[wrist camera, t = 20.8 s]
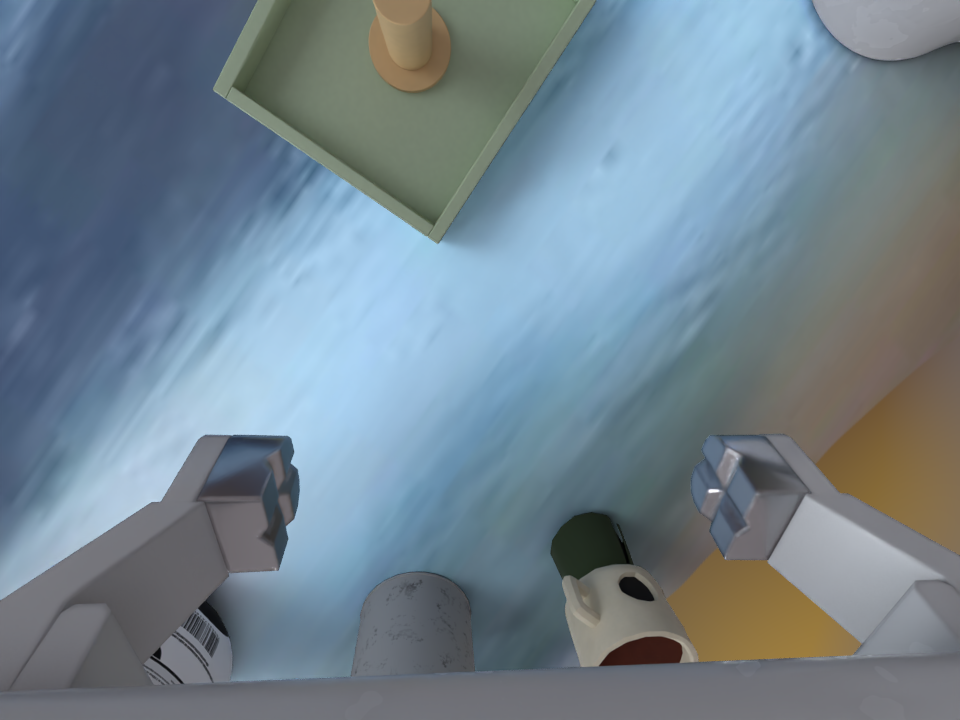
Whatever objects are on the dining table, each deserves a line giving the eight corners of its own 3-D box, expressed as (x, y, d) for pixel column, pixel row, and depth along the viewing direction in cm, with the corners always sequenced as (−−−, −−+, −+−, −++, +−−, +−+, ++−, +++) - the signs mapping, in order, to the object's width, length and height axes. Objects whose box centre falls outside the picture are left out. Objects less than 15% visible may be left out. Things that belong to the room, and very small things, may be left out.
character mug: (656, 545, 44) (742, 680, 32) (599, 598, 45) (660, 748, 33) (569, 475, 41) (626, 595, 29) (510, 534, 43) (541, 672, 30)
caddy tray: (378, -183, 28) (348, -380, 18) (589, 6, 31) (657, -77, 22) (232, 99, 31) (143, 56, 22) (437, 240, 35) (438, 256, 25)
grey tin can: (487, 588, 44) (506, 729, 32) (447, 669, 46) (451, 828, 35) (382, 558, 42) (362, 696, 31) (345, 644, 45) (313, 803, 33)
